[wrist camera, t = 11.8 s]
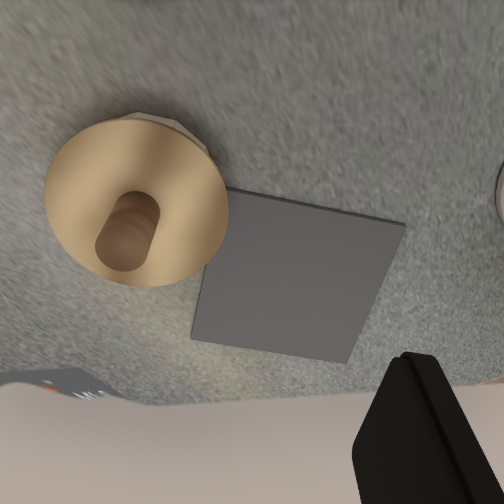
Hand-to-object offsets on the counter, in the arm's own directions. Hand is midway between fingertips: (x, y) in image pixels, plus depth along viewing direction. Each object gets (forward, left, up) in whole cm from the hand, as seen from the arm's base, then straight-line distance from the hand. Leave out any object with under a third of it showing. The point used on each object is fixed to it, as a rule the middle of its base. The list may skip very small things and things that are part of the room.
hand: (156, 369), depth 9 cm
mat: (-10, +16, -29) cm, 35 cm away
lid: (+4, +9, -25) cm, 27 cm away
